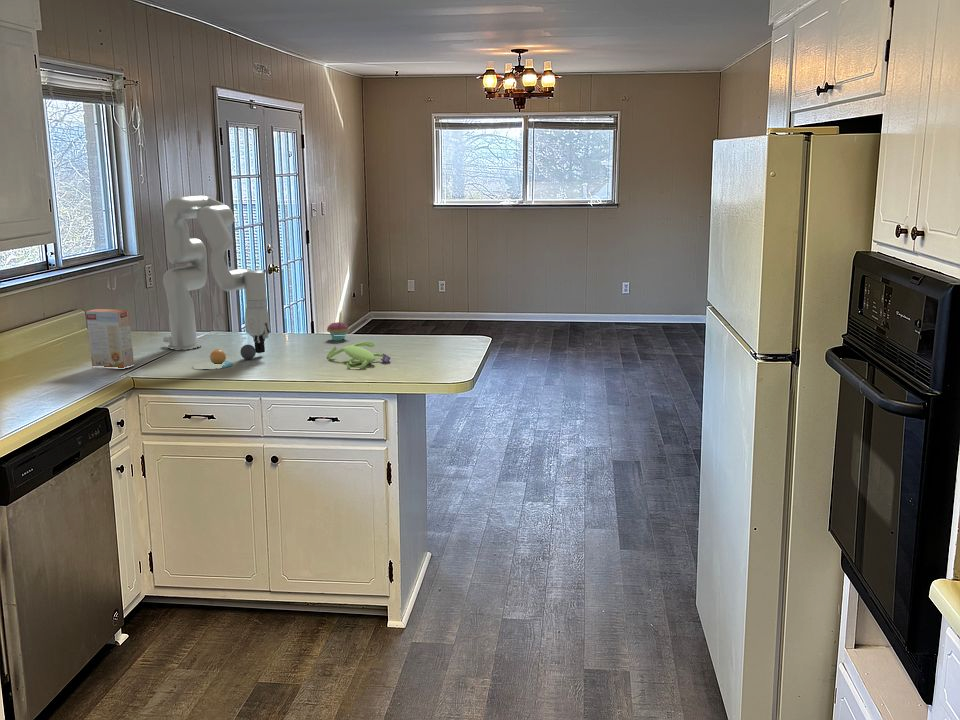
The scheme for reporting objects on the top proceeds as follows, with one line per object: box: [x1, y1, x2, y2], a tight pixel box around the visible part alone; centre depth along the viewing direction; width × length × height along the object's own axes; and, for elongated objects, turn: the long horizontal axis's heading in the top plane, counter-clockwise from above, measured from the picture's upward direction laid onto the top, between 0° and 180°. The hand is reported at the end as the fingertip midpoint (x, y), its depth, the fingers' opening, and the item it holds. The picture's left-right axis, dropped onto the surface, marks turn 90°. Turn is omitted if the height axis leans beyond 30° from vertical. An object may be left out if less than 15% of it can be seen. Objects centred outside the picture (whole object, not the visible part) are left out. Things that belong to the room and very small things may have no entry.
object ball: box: [209, 348, 227, 364], centre depth 318 cm, size 6×6×6 cm
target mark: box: [222, 360, 234, 369], centre depth 317 cm, size 14×14×1 cm
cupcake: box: [326, 311, 349, 342], centre depth 359 cm, size 9×8×12 cm
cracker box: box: [85, 308, 135, 368], centre depth 314 cm, size 14×6×21 cm, turn 71°
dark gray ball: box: [239, 344, 256, 360], centre depth 326 cm, size 6×6×6 cm
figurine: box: [326, 341, 391, 369], centre depth 321 cm, size 18×27×6 cm
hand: (260, 352), depth 331 cm, fingers closed
